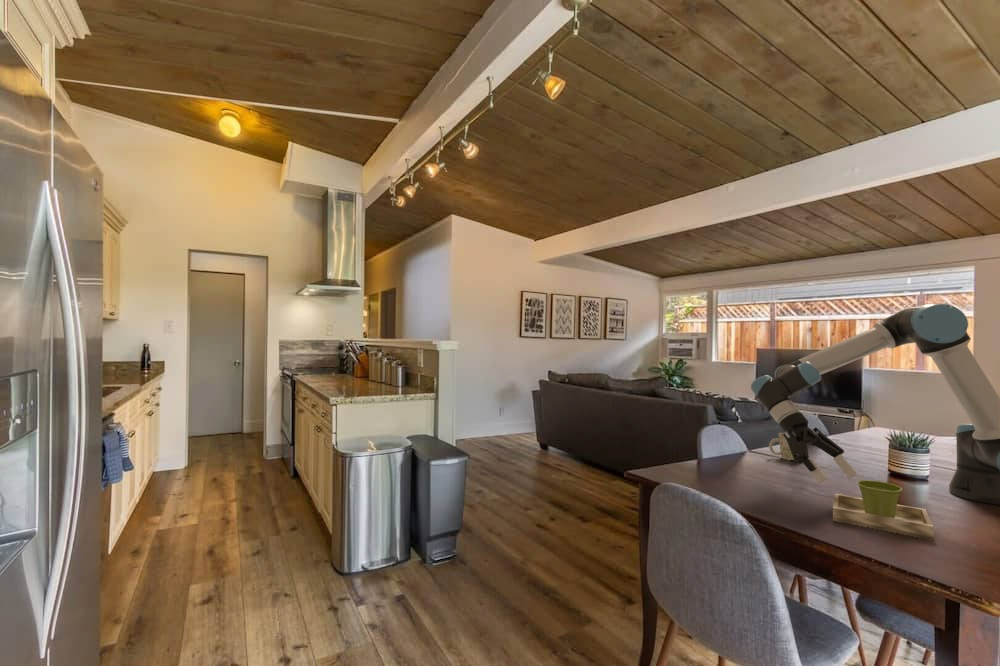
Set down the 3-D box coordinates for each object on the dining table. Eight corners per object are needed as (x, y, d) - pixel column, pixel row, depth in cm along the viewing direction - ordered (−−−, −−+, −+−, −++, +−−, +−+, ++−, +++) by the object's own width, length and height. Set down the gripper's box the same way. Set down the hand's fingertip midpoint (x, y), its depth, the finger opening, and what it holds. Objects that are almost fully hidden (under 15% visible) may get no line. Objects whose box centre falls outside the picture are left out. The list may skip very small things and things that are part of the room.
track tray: (925, 522, 125) (925, 509, 125) (933, 541, 113) (933, 526, 113) (834, 505, 137) (834, 493, 138) (832, 520, 126) (832, 507, 126)
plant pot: (890, 526, 119) (890, 492, 120) (849, 513, 128) (849, 482, 128) (909, 521, 123) (910, 488, 123) (869, 509, 132) (869, 478, 132)
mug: (806, 461, 188) (806, 437, 188) (775, 461, 188) (775, 436, 188) (794, 456, 196) (794, 433, 196) (764, 456, 196) (764, 432, 197)
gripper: (806, 422, 156) (855, 480, 142) (754, 427, 147) (801, 489, 133) (823, 409, 152) (875, 467, 138) (770, 412, 142) (820, 475, 128)
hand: (838, 478), depth 135 cm, fingers open, 13 cm apart
